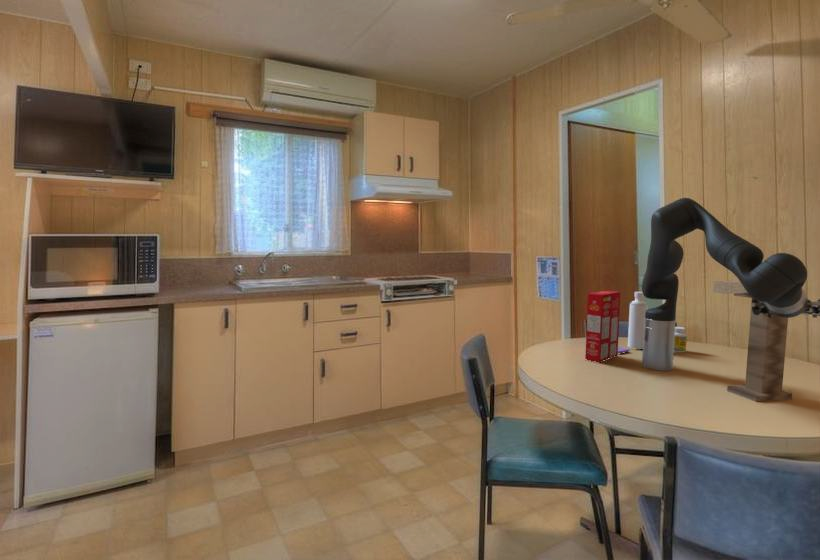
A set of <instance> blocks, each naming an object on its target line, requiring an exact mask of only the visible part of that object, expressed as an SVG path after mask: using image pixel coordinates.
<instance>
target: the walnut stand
mask: <svg viewBox="0 0 820 560" xmlns="http://www.w3.org/2000/svg"><path fill="white" fill-rule="evenodd" d="M733 296H735V297H741V298H742V297H743V298H750V299H751V301H750V303H751V304H750V316H749V329H748V343H747V357H746V369H745V381H744V382H745V383H744V384H733V385H727V388H726V391H727V392H729V393H732V394H735V395H738V396H740V397H743V398H746V399H748V400H751V401H754V402H756V403H757V402H769V401H782V400H783V401H784V400H792V397H793V393H791V392H789V391H786V390H785V391H784V390H783V385H784V384H783V383H784V382H783V381H784V370H785V360H786V358H785V357H786V347H787V334H788V321H789V318H784V317H779V316H776V315H772V316H773V317H772V318H769V317H768V316H765V315H763V313H760V314H759V315H754V313H753V311H752V300H756V299H754V298H753V297H752V296H750V295H749V293H733ZM760 303H764V302H761V301H760Z"/></svg>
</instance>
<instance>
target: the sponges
mask: <svg viewBox="0 0 820 560" xmlns="http://www.w3.org/2000/svg"><path fill="white" fill-rule="evenodd" d="M630 350H631V349H630V348H624V347H620V346H618V353H623V352H628V351H629V352H630Z"/></svg>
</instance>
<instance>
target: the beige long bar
mask: <svg viewBox="0 0 820 560" xmlns="http://www.w3.org/2000/svg"><path fill="white" fill-rule="evenodd" d="M712 290H713V291H712V293H717V294H724V295H726V294H728V295H729V294H734V293H748V292H747V291H746V290H745V288H744V287H743V285H742V284H741V282H740V281H739V280H735V281H734V280H730V281H729V280H728V281H727V280H725V281H724V280H723V281H722V280H719V281H713V288H712Z"/></svg>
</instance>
